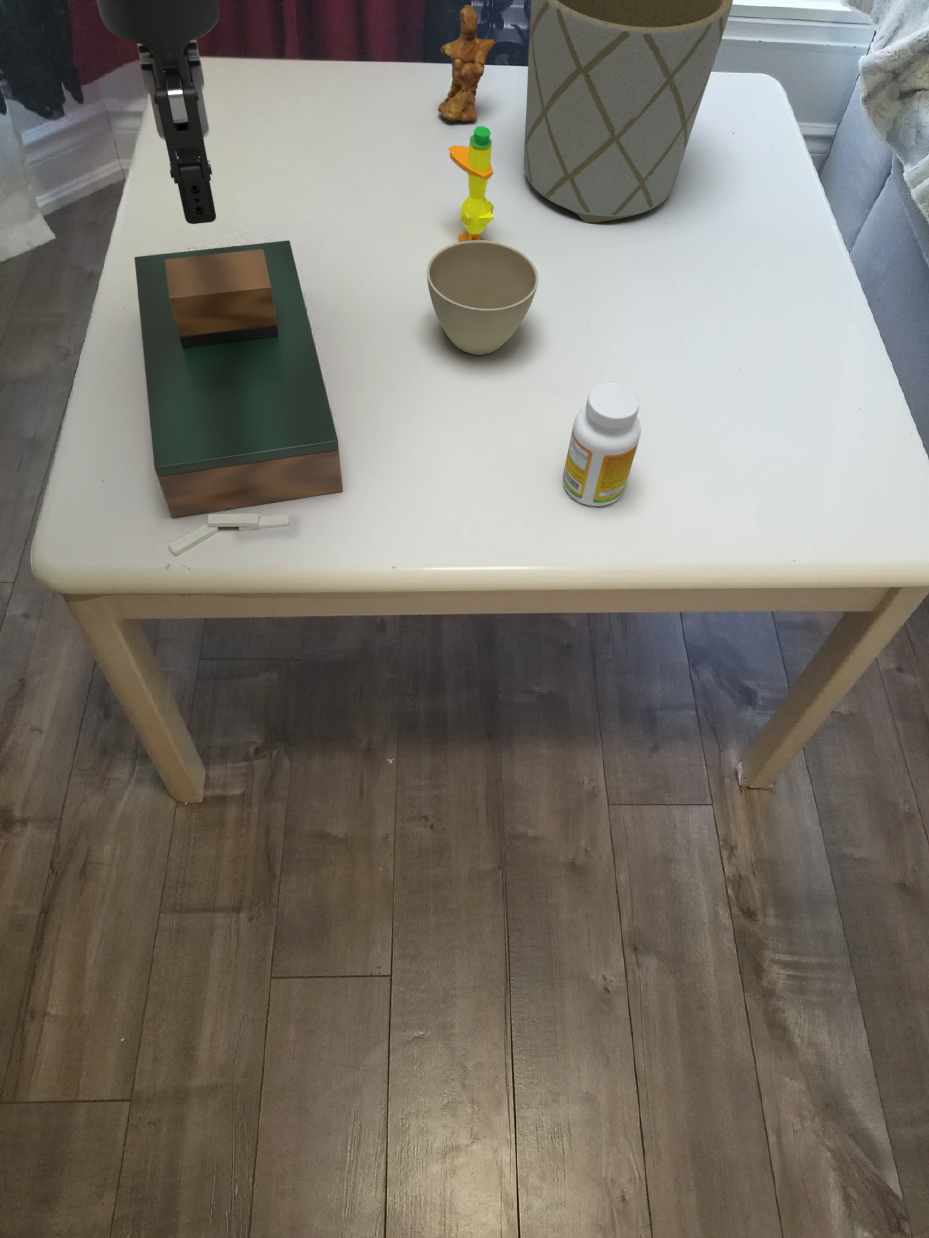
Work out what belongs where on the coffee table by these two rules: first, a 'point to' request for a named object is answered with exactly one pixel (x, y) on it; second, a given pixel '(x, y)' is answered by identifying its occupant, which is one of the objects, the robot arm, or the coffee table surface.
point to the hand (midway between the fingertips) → (195, 187)
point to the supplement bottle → (602, 445)
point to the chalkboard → (236, 400)
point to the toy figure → (475, 182)
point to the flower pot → (480, 293)
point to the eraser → (221, 298)
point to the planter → (615, 98)
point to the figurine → (465, 68)
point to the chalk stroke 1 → (192, 539)
